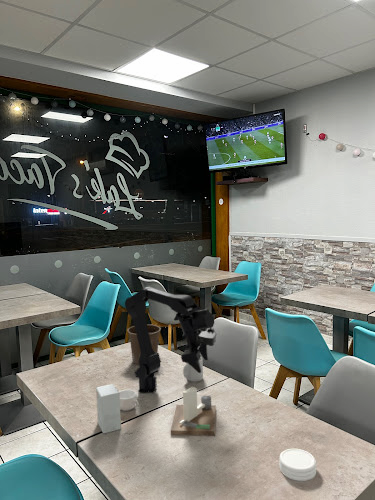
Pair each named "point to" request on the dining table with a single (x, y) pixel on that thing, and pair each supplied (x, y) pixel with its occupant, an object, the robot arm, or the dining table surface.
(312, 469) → the coaster
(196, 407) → the lever
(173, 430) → the brown flat panel
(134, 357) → the plant pot
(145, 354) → the robot arm
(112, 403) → the small box
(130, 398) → the teacup
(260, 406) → the dining table surface
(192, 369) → the cup
